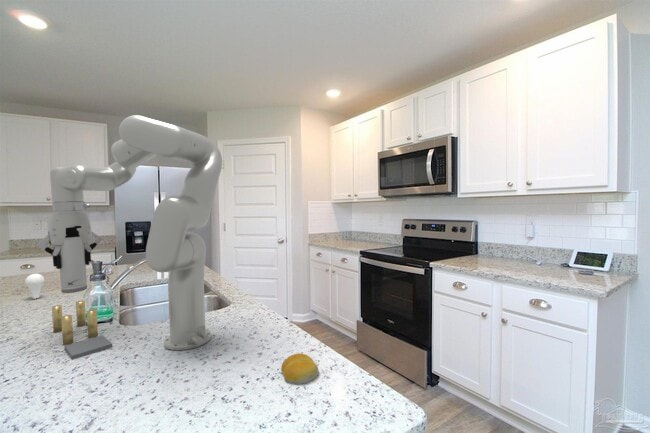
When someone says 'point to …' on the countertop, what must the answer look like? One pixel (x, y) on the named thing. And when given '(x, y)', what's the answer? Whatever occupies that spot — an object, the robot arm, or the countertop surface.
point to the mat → (87, 347)
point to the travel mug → (72, 262)
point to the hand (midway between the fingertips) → (72, 265)
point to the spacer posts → (66, 322)
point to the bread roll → (299, 369)
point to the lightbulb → (35, 284)
